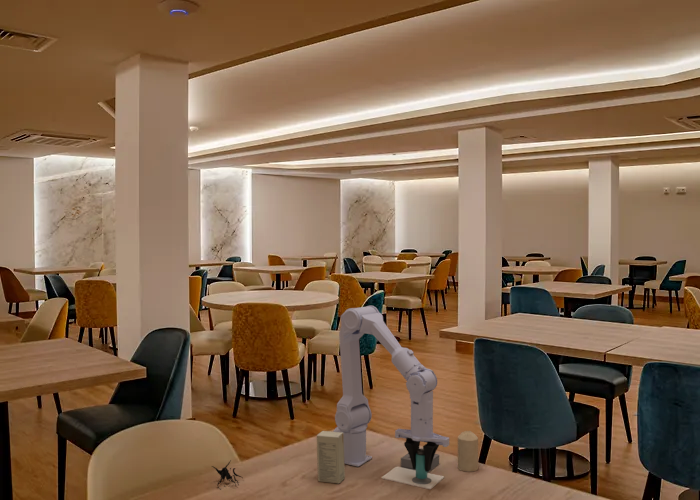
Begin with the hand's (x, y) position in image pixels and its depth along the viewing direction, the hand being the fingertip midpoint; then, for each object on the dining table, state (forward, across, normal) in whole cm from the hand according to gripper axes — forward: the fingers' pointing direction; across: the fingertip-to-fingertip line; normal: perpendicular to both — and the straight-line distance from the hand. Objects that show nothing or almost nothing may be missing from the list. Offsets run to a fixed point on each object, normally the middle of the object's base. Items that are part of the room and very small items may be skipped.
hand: (421, 469), depth 163 cm
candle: (+3, +7, +15) cm, 17 cm away
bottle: (+2, 0, 0) cm, 2 cm away
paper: (+3, -3, +1) cm, 5 cm away
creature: (+4, -42, -27) cm, 50 cm away
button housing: (+3, -5, +10) cm, 12 cm away
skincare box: (+3, -21, -11) cm, 24 cm away
